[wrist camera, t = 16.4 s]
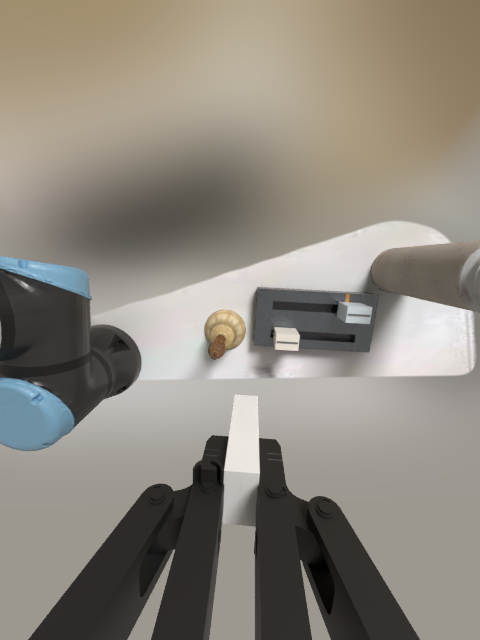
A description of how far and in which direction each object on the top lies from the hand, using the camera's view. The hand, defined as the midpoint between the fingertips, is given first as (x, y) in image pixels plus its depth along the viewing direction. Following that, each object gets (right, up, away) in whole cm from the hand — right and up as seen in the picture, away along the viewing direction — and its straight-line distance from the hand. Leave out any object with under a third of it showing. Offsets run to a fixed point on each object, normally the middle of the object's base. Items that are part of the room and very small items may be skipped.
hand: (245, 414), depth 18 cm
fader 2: (+20, +8, +33) cm, 39 cm away
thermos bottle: (+28, +16, +33) cm, 46 cm away
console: (+14, +7, +35) cm, 38 cm away
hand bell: (-3, +4, +37) cm, 37 cm away
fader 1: (+8, +4, +35) cm, 36 cm away
